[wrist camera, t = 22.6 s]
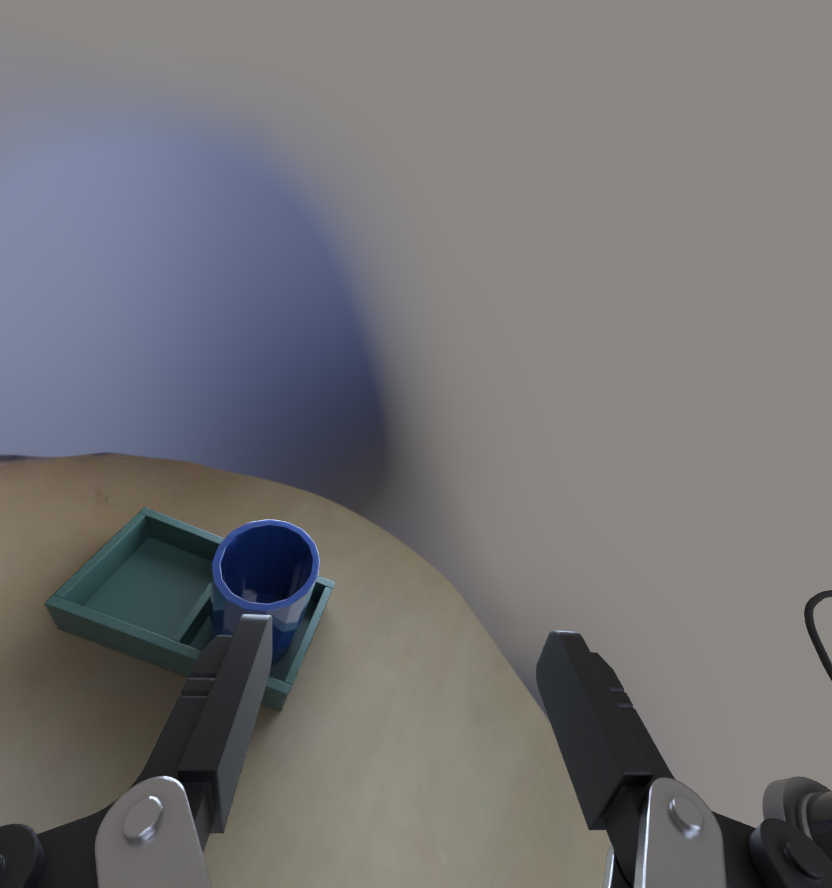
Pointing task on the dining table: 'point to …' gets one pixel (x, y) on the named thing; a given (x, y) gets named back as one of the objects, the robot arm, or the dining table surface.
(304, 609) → the cup
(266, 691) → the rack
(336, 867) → the dining table surface
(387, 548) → the dining table surface
